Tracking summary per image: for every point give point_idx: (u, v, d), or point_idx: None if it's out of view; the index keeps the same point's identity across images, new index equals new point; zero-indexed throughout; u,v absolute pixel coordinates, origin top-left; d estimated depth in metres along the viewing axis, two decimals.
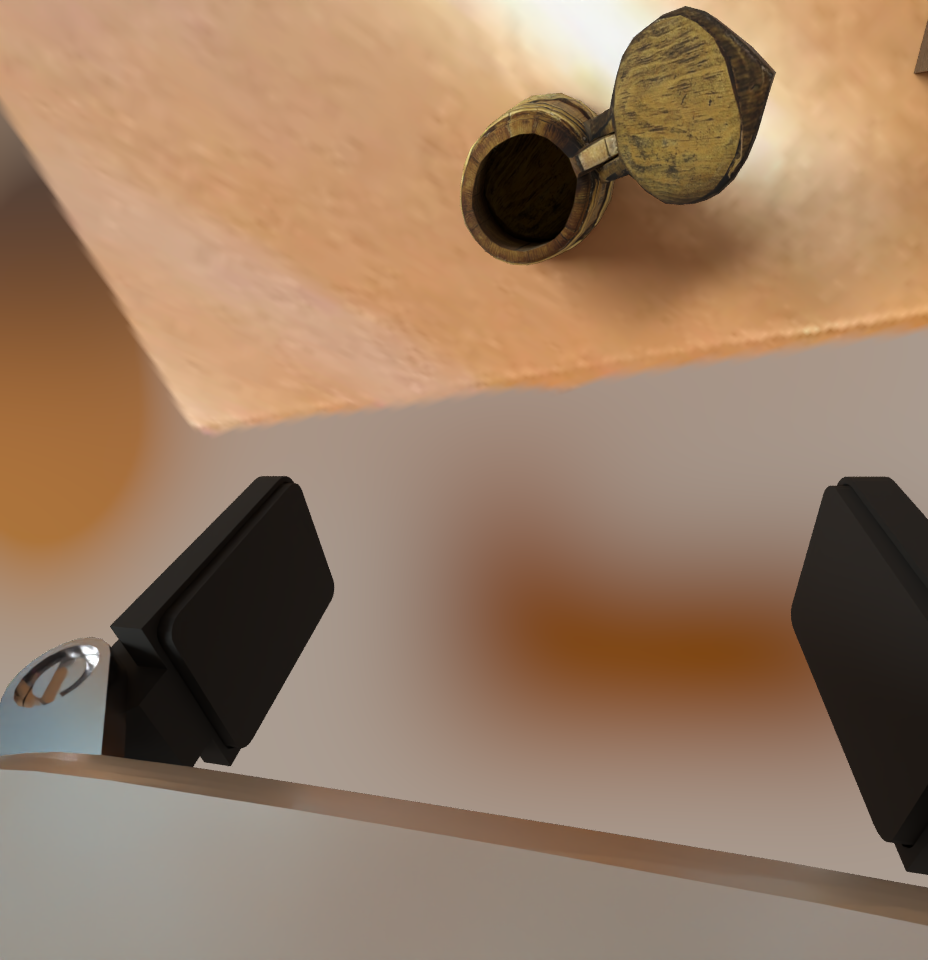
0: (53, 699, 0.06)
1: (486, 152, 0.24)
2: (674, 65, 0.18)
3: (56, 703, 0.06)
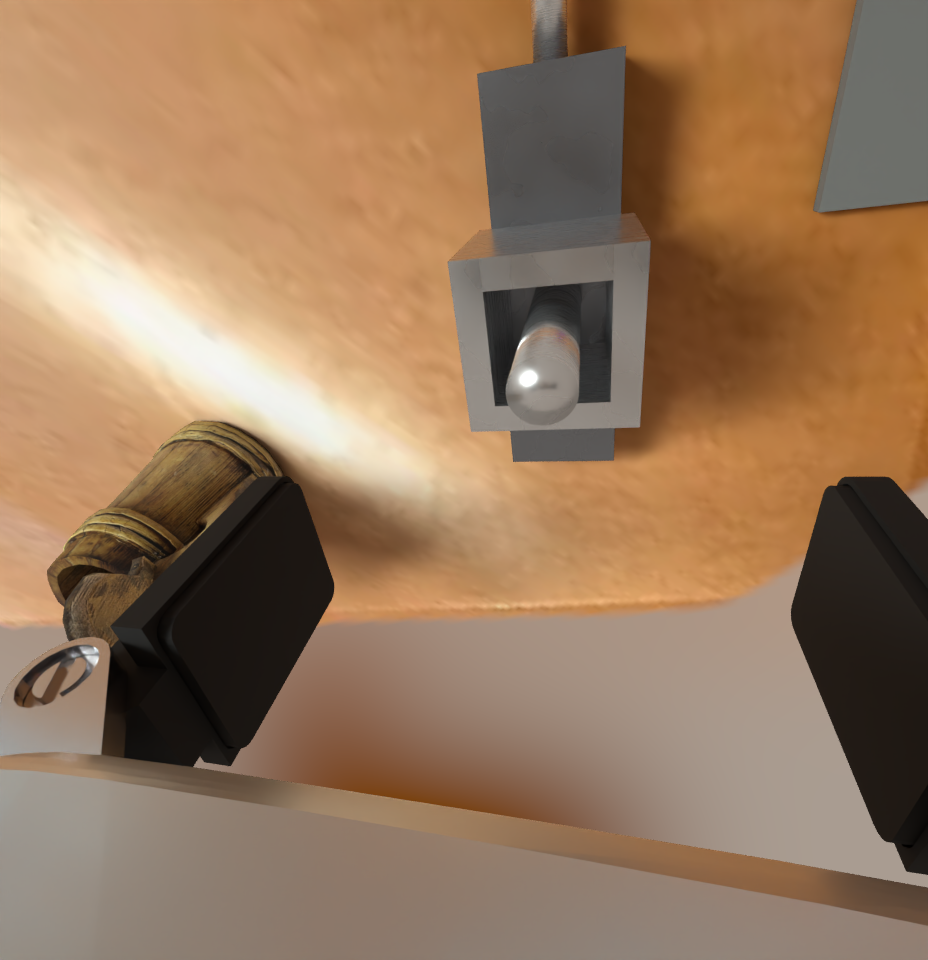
0: (53, 699, 0.06)
1: (58, 571, 0.25)
2: None
3: (56, 703, 0.06)
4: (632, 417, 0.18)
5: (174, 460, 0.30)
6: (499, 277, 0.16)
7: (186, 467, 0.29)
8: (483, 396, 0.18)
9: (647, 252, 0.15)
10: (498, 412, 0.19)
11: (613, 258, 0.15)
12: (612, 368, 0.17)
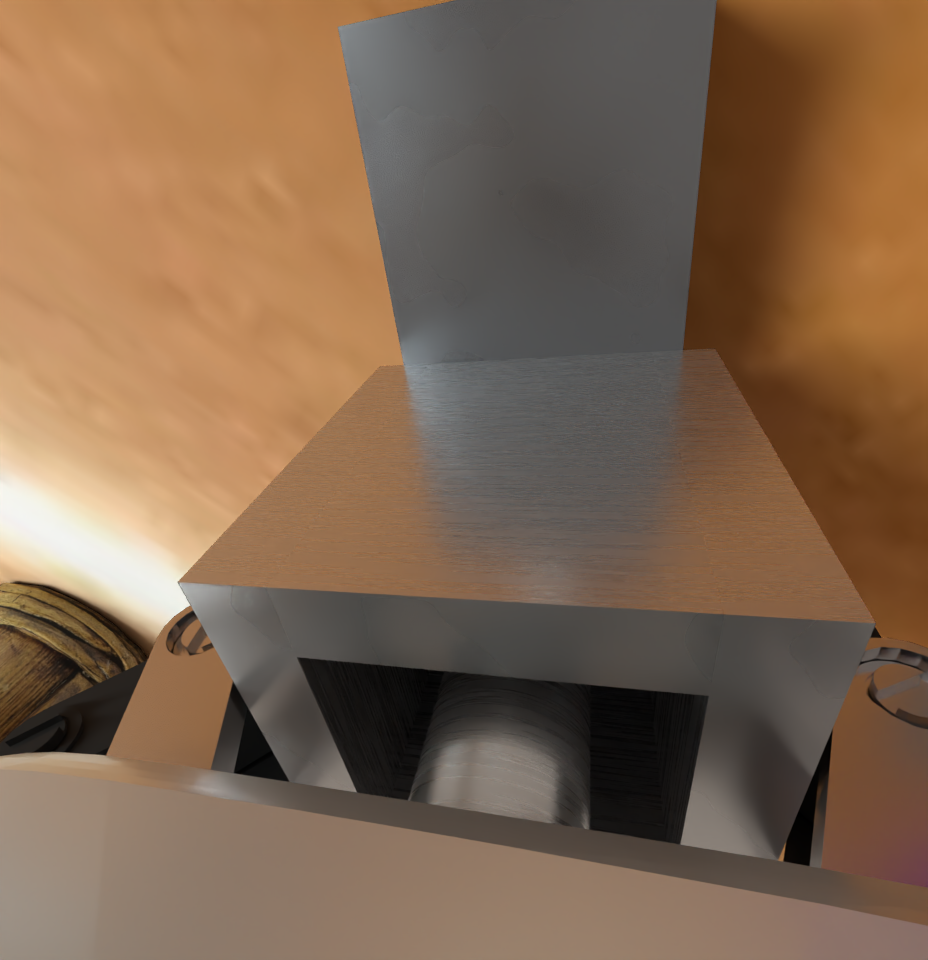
0: (196, 651, 0.07)
1: None
2: None
3: (197, 656, 0.07)
4: None
5: None
6: (337, 636, 0.05)
7: None
8: None
9: (851, 649, 0.04)
10: None
11: (717, 645, 0.04)
12: None
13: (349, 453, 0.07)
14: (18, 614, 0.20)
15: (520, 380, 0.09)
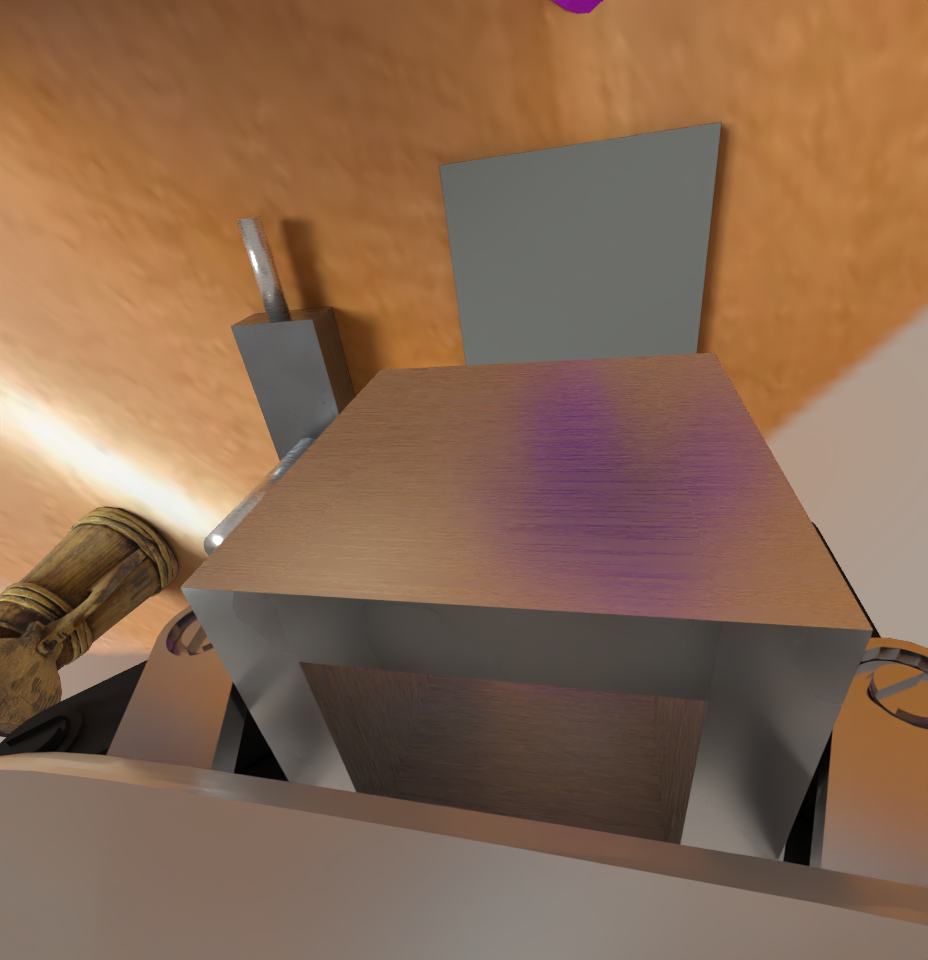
0: (196, 650, 0.07)
1: None
2: None
3: (197, 656, 0.07)
4: None
5: (76, 541, 0.40)
6: (339, 640, 0.05)
7: (84, 547, 0.40)
8: None
9: (849, 655, 0.04)
10: None
11: (716, 651, 0.04)
12: None
13: (350, 457, 0.07)
14: (109, 520, 0.41)
15: (520, 384, 0.09)
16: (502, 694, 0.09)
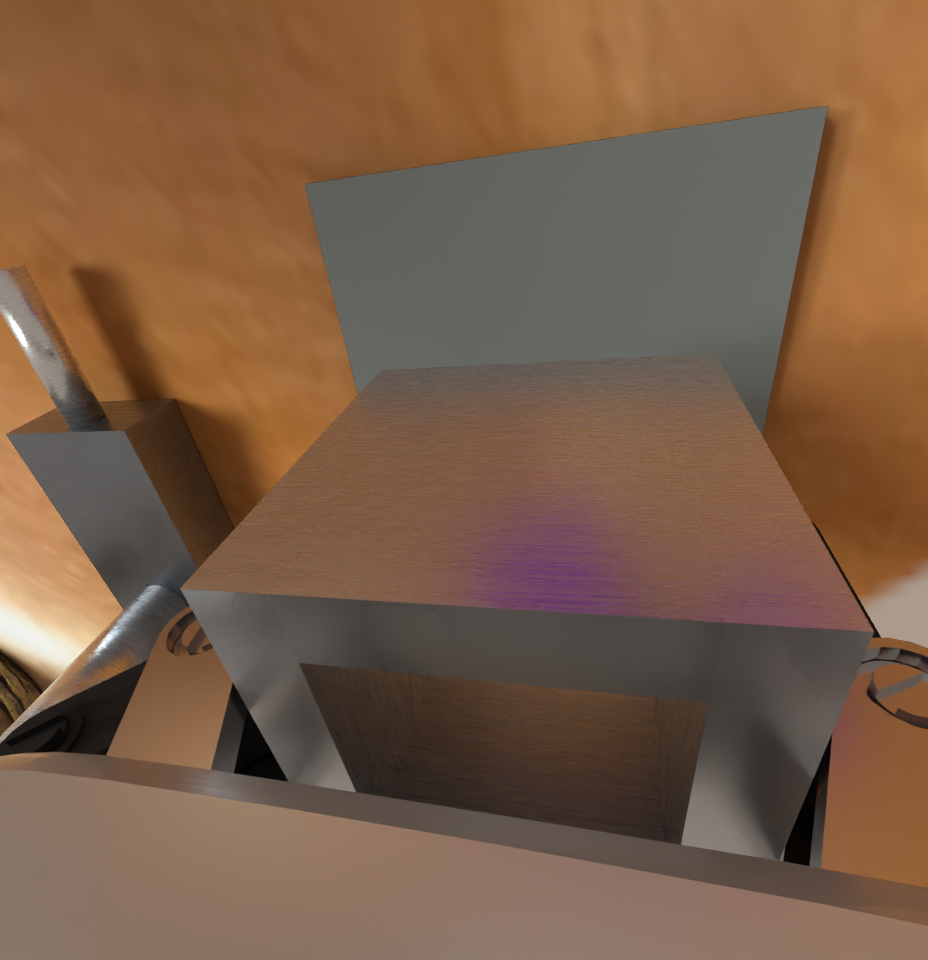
0: (196, 651, 0.07)
1: None
2: None
3: (197, 657, 0.07)
4: None
5: None
6: (339, 642, 0.05)
7: None
8: None
9: (849, 656, 0.04)
10: None
11: (716, 652, 0.04)
12: None
13: (350, 458, 0.07)
14: None
15: (520, 384, 0.09)
16: (502, 695, 0.09)
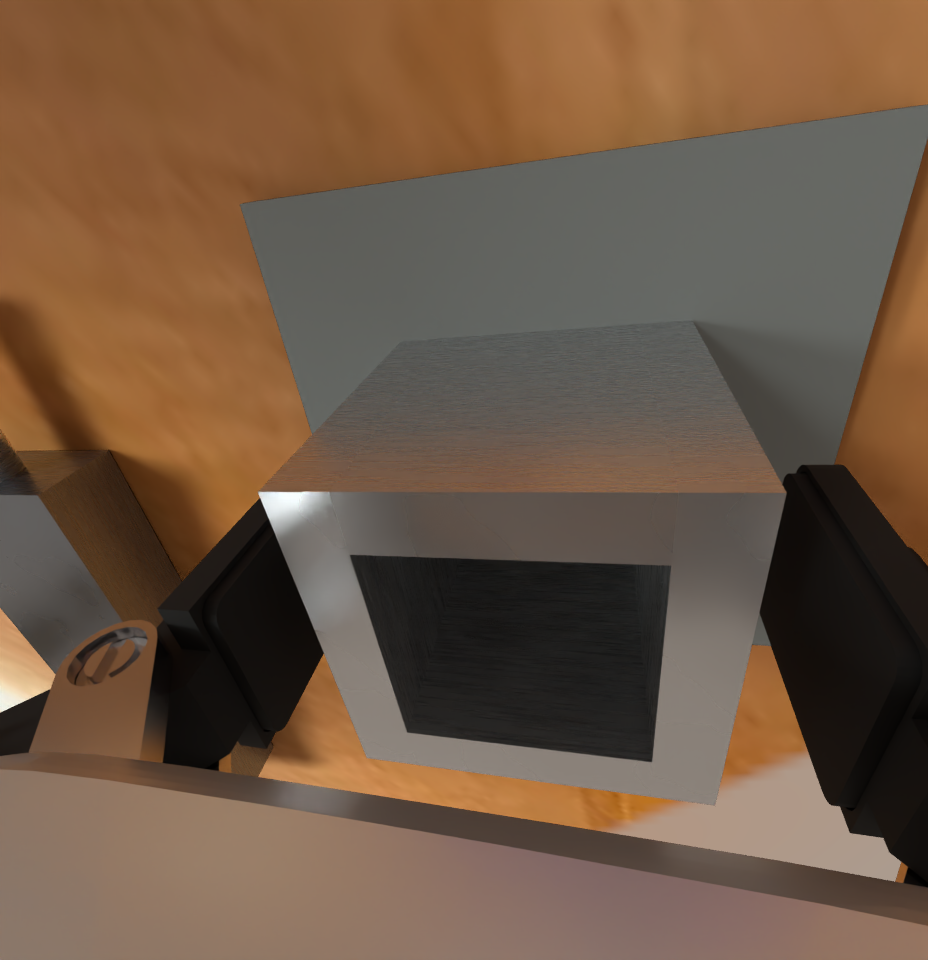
0: (103, 679, 0.07)
1: None
2: None
3: (105, 683, 0.06)
4: (699, 789, 0.08)
5: None
6: (383, 532, 0.07)
7: None
8: (381, 716, 0.09)
9: (772, 517, 0.05)
10: (415, 741, 0.09)
11: (675, 520, 0.06)
12: (659, 714, 0.07)
13: (382, 404, 0.09)
14: None
15: (524, 348, 0.10)
16: (510, 621, 0.11)
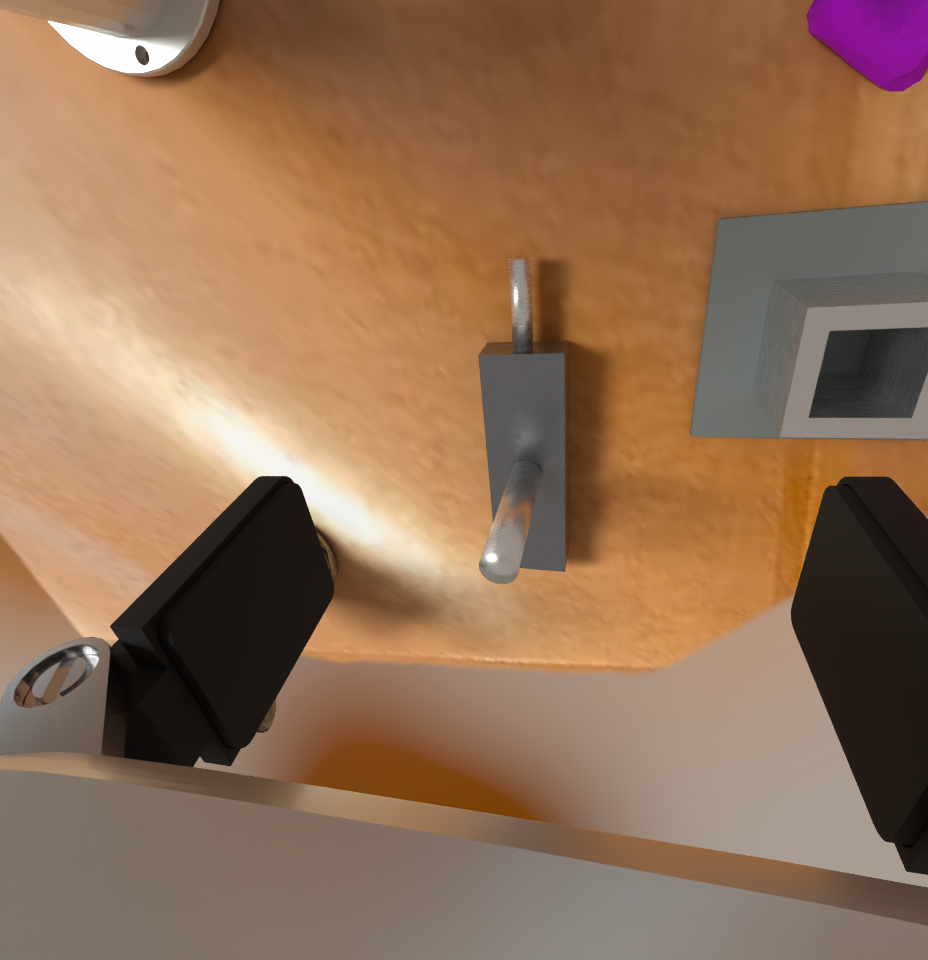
0: (53, 699, 0.06)
1: None
2: None
3: (56, 703, 0.06)
4: (927, 430, 0.23)
5: None
6: (847, 320, 0.22)
7: None
8: (801, 409, 0.24)
9: None
10: (809, 422, 0.24)
11: None
12: (921, 392, 0.22)
13: (810, 293, 0.24)
14: None
15: (844, 280, 0.25)
16: (825, 396, 0.26)
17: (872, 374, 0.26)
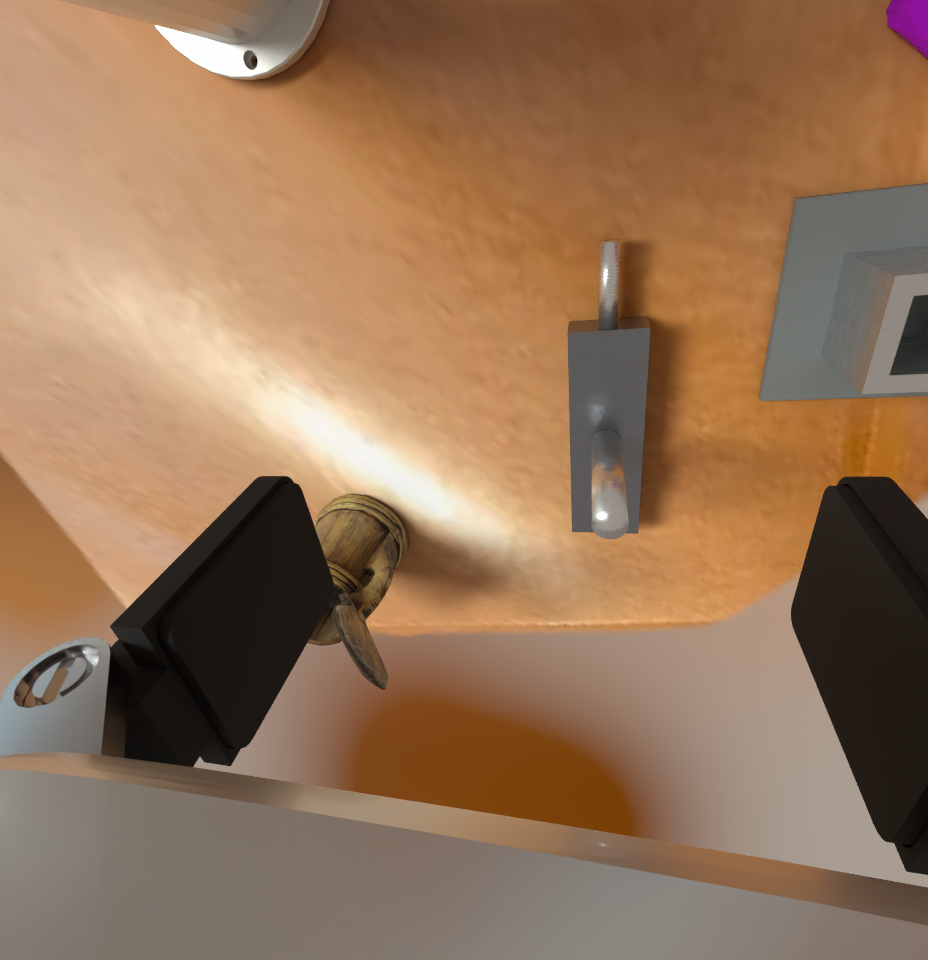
0: (53, 699, 0.06)
1: None
2: None
3: (56, 703, 0.06)
4: None
5: (342, 524, 0.44)
6: None
7: (351, 530, 0.44)
8: (883, 368, 0.27)
9: None
10: (890, 379, 0.27)
11: None
12: None
13: (889, 263, 0.26)
14: (363, 505, 0.46)
15: (914, 250, 0.28)
16: (897, 356, 0.29)
17: None
